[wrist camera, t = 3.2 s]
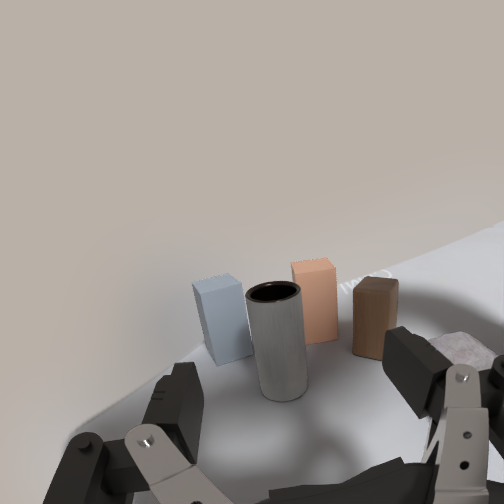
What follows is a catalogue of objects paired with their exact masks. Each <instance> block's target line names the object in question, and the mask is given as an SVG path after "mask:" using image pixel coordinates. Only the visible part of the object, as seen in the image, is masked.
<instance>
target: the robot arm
mask: <svg viewBox="0 0 504 504" xmlns="http://www.w3.org/2000/svg"><path fill="white" fill-rule="evenodd" d="M382 366H383V370H384V372H385V374H386V375H387V376H388V378H389V379H390V380H391V382H392V383H393V384H394V386H395V387H396V388H397V390H398V391H399V392H400V394H401V395H402V396H403V398H404V399H405V400H406V402H407V403H408V404H409V406H410V407H411V408H412V410H413V411H414V413H415V414H416V415H417V417H418V418H419V419H422V418H424V417H426V416H428V415H430V416H431V421H430V424H429V429H428V435H427V440H426V444H425V449H424V453H423V457H422V460H421V463H406V464H404V462H403V460H402V459H401V457H398V458H396V459H393V460H391V461H388V462H385V463H382V464H380V465H377V466H374V467H371V468H369V469H368V470H366V471H364V472H362V473H360V474H359V475H357V476H355V477H353V478H351V479H349V480H347V481H345V482H343V483H340V484H329V485H300V486H295V487H289V488H282V489H275V490H269V498H268V499H265V500H262V501H260V502H258V503H255V504H504V483H500V482H495V481H490V480H487V469H488V452H489V440H490V442H491V443H492V444H493V446H494V447H495V448H496V450H497V451H498V452H499V454H500V455H501V457H502V458H503V459H504V355H501V356H498V357H496V358H495V359H494V361H493V364H492V367H491V369H486V370H482V371H477V370H476V369H475V368H474V367H473V366H471V365H468V364H456V365H454V364H453V363H452V362H451V361H450V360H449V359H447V358H446V357H445V356H444V355H443V354H442V353H441V352H440V351H438V350H436V348H435V347H434V346H433V345H431V343H429V342H428V341H427V340H426V339H425V338H423V337H421V336H418V335H416V334H412V333H410V332H409V331H408V330H407V329H406V328H405V327H403V326H400V327H397V328H393V329H390V330H387V331H386V332H385V337H384V347H383V356H382ZM153 392H154V393H153V394H152V397H151V400H150V402H149V405H148V407H147V410H146V413H145V416H144V418H143V421H142V424H141V425H139V426H136V427H134V428H132V429H131V430H130V431H129V432H128V433H127V434H126V436H125V439H121V440H115V441H107V442H103V440H102V439H101V438H100V436H98V435H97V434H95V433H91V432H85V433H81V434H78V435H76V436H75V437H73V438H72V439H71V441H70V442H69V444H68V446H67V448H66V450H65V453H64V455H63V457H62V459H61V461H60V464H59V466H58V468H57V470H56V473H55V475H54V477H53V480H52V482H51V484H50V487H49V489H48V492H47V494H46V496H45V499H44V501H43V504H132V502H133V496H134V492H141V491H148V490H151V491H152V492H153V494H154V495H155V497H156V498H157V500H158V501H159V502H160V504H234V503H233V502H232V501H231V500H229V499H228V498H227V497H226V496H225V495H224V494H223V493H222V492H221V491H220V490H219V489H218V488H217V487H216V486H215V485H214V484H213V483H212V482H211V481H210V480H209V479H208V478H207V477H206V476H205V475H204V474H203V473H202V472H201V470H200V469H199V468H198V467H197V466H195V465H191V464H196V463H197V455H198V446H199V438H200V430H201V422H202V414H203V407H204V396H203V391H202V387H201V384H200V380H199V377H198V373H197V370H196V366H195V364H194V362H184V363H175V364H174V367H173V370H172V373H171V375H164V376H163V377H162V378H161V379H160V380H159V381H158V382H157V383H156V386H155V389H154V391H153Z"/></svg>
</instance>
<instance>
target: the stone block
mask: <svg viewBox="0 0 504 504" xmlns="http://www.w3.org/2000/svg"><path fill="white" fill-rule="evenodd" d="M428 342H429V343H431V345H433V346H434V347H435V348H436V350H438V351H440V352H441V353H442V354H443V355H444V356H445V357H446V358H447V359H449V360H450V361H451V362H452V363H453V364H454V365H456V364H468V365H471V366H473V367H474V368H475V369H476V370H477V371H482V370H486V369H491V367H492V364H493V361H494V359H495V358H496V357H498V355H497V354H496V353H495V352H494V351H492V350H491V349H489V348H487V347H485V346H484V345H483V344H482V343H481V342H480V341H479V340H478V339H476V338H475V337H473V336H471V335H469V334H468V333H466V332H461V331H458V332H455V333H450V334H443V335H442V336H440V337H438V338H434V339H430V340H428Z"/></svg>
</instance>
